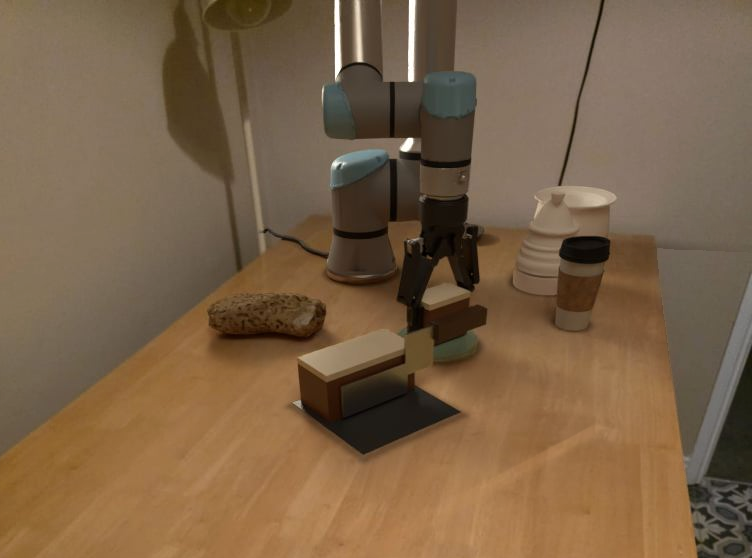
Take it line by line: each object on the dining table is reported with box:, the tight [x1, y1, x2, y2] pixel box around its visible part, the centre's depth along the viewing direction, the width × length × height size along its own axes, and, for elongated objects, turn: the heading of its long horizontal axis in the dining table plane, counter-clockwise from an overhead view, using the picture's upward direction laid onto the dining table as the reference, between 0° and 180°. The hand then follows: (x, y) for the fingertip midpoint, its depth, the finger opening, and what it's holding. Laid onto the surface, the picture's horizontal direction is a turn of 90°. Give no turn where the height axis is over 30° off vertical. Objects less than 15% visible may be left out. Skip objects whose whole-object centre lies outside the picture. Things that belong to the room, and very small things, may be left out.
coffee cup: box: [554, 236, 612, 332], centre depth 118 cm, size 8×8×15 cm
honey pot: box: [512, 191, 580, 296], centre depth 133 cm, size 13×13×18 cm
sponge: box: [206, 292, 327, 338], centre depth 120 cm, size 13×8×20 cm
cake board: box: [292, 384, 462, 456], centre depth 99 cm, size 18×18×1 cm
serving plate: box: [396, 326, 479, 362], centre depth 116 cm, size 14×14×2 cm
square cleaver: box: [340, 304, 488, 418], centre depth 99 cm, size 27×2×10 cm, turn 127°
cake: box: [296, 327, 416, 423], centre depth 99 cm, size 16×8×8 cm, turn 127°
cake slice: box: [406, 281, 471, 346], centre depth 113 cm, size 6×9×8 cm, turn 127°
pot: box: [533, 185, 618, 238], centre depth 150 cm, size 22×17×12 cm
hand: (437, 334), depth 115 cm, fingers closed on cake slice, 9 cm apart
